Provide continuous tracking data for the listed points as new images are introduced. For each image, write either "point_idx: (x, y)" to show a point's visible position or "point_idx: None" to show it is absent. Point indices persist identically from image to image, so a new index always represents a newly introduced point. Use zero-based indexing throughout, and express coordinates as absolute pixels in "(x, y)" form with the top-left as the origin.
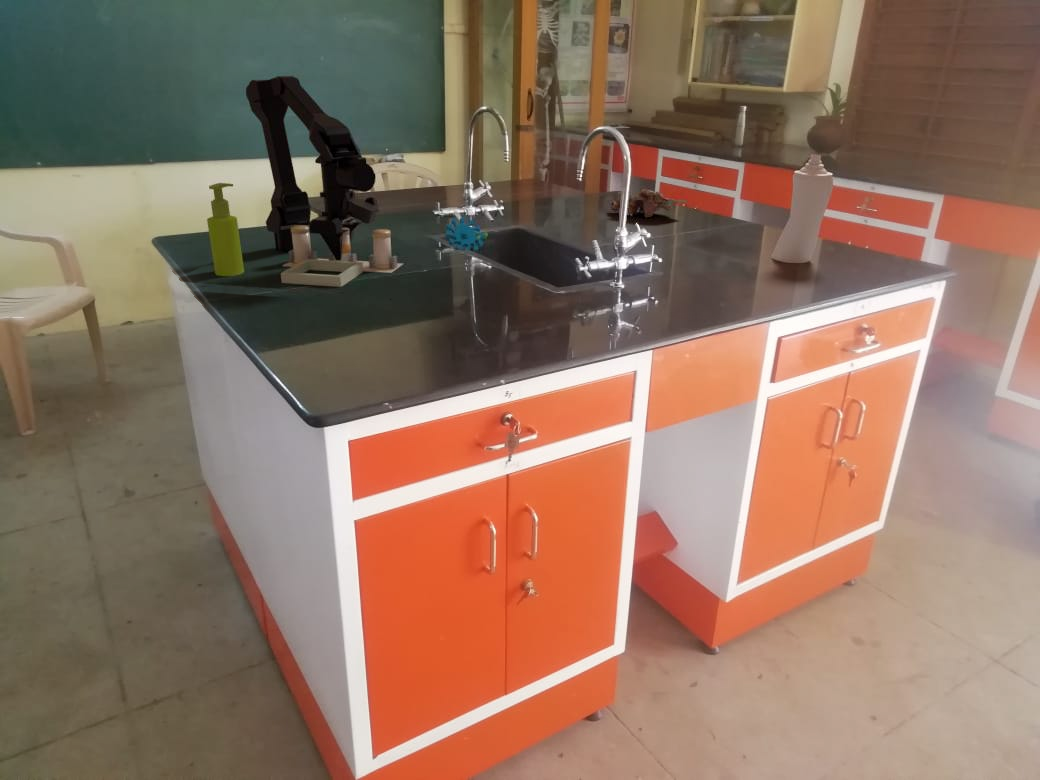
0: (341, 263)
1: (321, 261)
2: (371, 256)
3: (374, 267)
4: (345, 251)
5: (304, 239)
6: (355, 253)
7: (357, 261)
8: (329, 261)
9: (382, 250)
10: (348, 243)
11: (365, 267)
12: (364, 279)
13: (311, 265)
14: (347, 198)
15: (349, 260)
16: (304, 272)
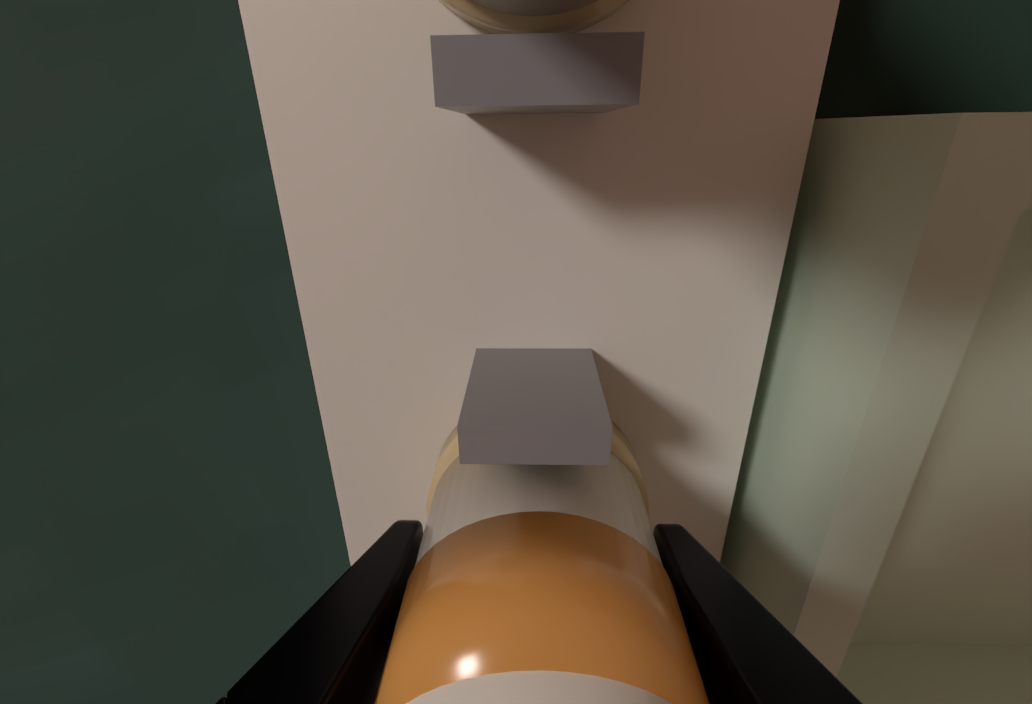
0: (913, 448)
1: (839, 667)
2: (623, 33)
3: (617, 9)
4: (644, 568)
5: None
6: (463, 434)
7: (345, 391)
8: (853, 600)
9: None
10: (585, 672)
11: (612, 175)
12: (848, 86)
13: None
14: None
15: None
16: (864, 669)
